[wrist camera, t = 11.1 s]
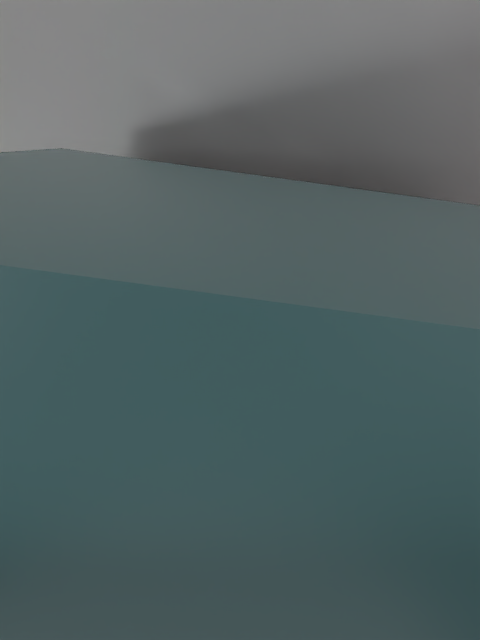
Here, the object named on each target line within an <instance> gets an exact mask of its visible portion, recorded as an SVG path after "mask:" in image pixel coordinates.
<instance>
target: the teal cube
mask: <svg viewBox="0 0 480 640" xmlns="http://www.w3.org/2000/svg"><path fill="white" fill-rule="evenodd" d="M0 640H480V206H479V205H472V204H465V203H457V202H450V201H443V200H435V199H428V198H421V197H413V196H406V195H399V194H391V193H384V192H377V191H369V190H362V189H355V188H347V187H340V186H333V185H325V184H318V183H311V182H303V181H296V180H289V179H281V178H274V177H267V176H259V175H252V174H245V173H237V172H230V171H223V170H215V169H208V168H201V167H193V166H186V165H179V164H171V163H164V162H157V161H150V160H142V159H135V158H128V157H120V156H113V155H106V154H98V153H91V152H84V151H76V150H69V149H62V148H61V149H46V150H31V151H16V152H1V153H0Z"/></svg>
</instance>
